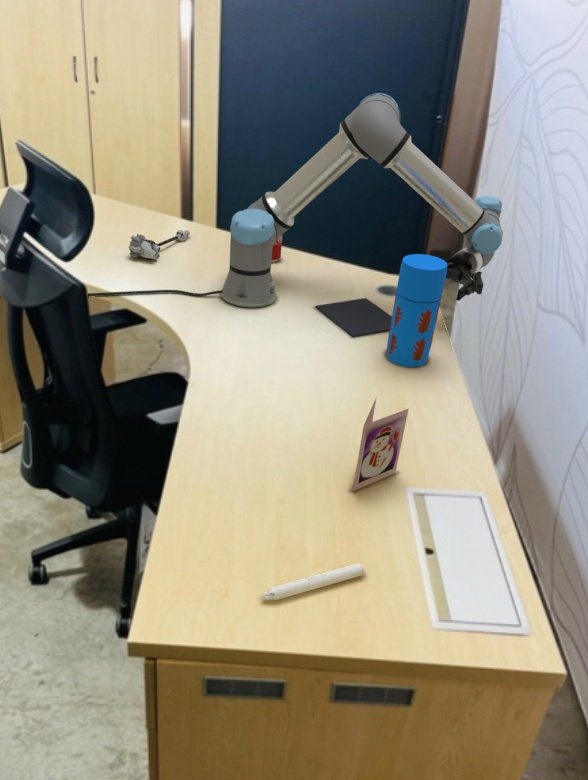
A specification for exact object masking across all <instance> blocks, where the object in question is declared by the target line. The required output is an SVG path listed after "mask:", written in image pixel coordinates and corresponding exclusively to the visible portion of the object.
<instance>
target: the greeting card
mask: <svg viewBox="0 0 588 780" xmlns="http://www.w3.org/2000/svg"><path fill="white" fill-rule="evenodd" d="M377 398H378V397H377V395H376V396H375V398H374V401H373V403H372V405H371V408H370V409H369V412H368V414H367V416H366V419H365V421H364V424H363V428H362V434H361V439H360V445H359V450H358V458H357V463H356V467H355V475H354V480H353V485H352V486H353V487H352V492H354V491H356V490H357V491H358V490H359V489H361V488H363V487H366V486H368V485H370V484H373V483H376V482H378V481H381V480H383V479H384V478H387V477H389V476H392V475H394V474H396V472H397V468H398V463H399V457H400V452H401V448H402V443H403V437H404V433H405V429H406V425H407V420H408V415H409V408H406V409H402V410H400V411H398V412H395V413H392V414H389V415H386V416H384V417H382V418H379V419H376V420H374V415H375V409H376V403H377Z"/></svg>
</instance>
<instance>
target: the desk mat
mask: <svg viewBox="0 0 588 780" xmlns="http://www.w3.org/2000/svg"><path fill="white" fill-rule="evenodd" d="M315 309H316V310H318V311H319V312H320V313H321V314H323V315H324V316H325V317H326V318H328V319H329V320H330V321H331V322H332V323H334V324H336V325H337V326H338V327H339V328H341V330H343V331H344V332H346V334H348V335H349V336H351V338H358V337H362V336H368V335H374V334H379V333H385V332H389V330H390V325H391V319H392V315H390V314H389V313H388V312H387V311H385V310H383V308H381V307H379V306H378V305H376V304H375V303H374V302H372V301H371V300H370V299H368V298H366V297H364V298H357V299H351V300H344V301H338V302H330V303H325V304H317V305H315Z"/></svg>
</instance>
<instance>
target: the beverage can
mask: <svg viewBox="0 0 588 780" xmlns="http://www.w3.org/2000/svg"><path fill="white" fill-rule="evenodd" d="M283 235H284V233H283V234H282V235H281V236H280V237H279V238H278V239H277V240H276V242H275V244H274V245H273V248H272V259H271V263H276V262H278V261H279V260H280V259H281V258H282V246H283Z"/></svg>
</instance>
